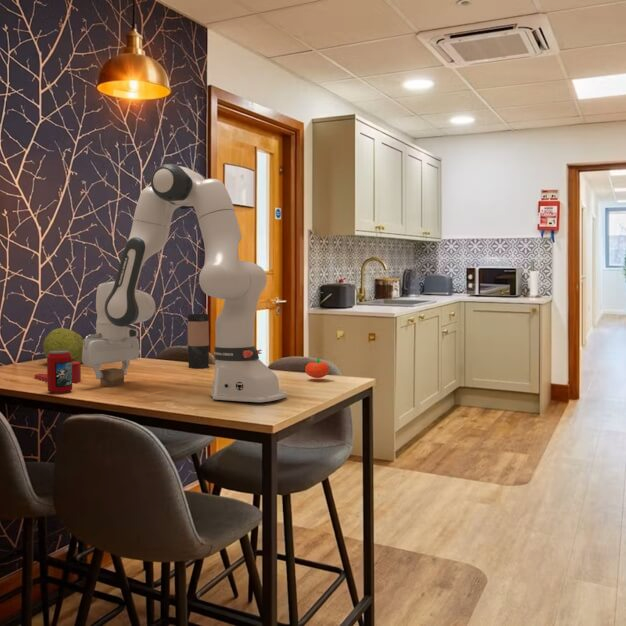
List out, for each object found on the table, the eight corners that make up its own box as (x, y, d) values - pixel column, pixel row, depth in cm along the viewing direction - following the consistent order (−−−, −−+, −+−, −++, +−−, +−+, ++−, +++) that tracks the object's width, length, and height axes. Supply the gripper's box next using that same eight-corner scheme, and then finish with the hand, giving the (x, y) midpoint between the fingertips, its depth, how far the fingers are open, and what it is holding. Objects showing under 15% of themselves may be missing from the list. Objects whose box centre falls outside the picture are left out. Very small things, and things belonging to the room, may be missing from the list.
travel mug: (213, 368, 249) (212, 314, 248) (199, 370, 242) (198, 315, 241) (197, 366, 253) (197, 313, 252) (183, 369, 247) (182, 314, 246)
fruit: (76, 371, 241) (75, 329, 240) (36, 371, 241) (35, 329, 240) (91, 365, 257) (91, 326, 256) (54, 365, 257) (53, 326, 256)
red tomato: (307, 375, 229) (307, 356, 229) (330, 376, 228) (330, 357, 227) (302, 378, 222) (302, 359, 222) (326, 379, 221) (326, 359, 220)
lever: (87, 383, 216) (86, 362, 215) (63, 387, 207) (62, 365, 207) (48, 379, 224) (48, 359, 224) (24, 382, 216) (24, 362, 216)
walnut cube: (124, 385, 211) (123, 369, 210) (111, 387, 206) (111, 371, 206) (112, 383, 213) (112, 368, 213) (100, 385, 209) (100, 369, 209)
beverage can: (64, 394, 193) (63, 352, 192) (42, 393, 194) (41, 352, 194) (77, 390, 200) (76, 350, 199) (56, 390, 201) (55, 349, 200)
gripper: (91, 335, 199) (91, 382, 200) (142, 330, 216) (142, 373, 217) (76, 334, 202) (77, 380, 203) (128, 330, 219) (128, 372, 220)
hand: (111, 376), depth 210 cm, fingers open, 8 cm apart
